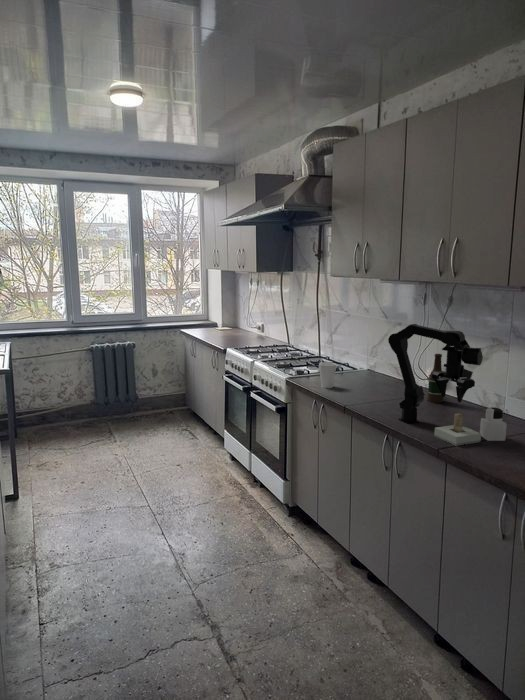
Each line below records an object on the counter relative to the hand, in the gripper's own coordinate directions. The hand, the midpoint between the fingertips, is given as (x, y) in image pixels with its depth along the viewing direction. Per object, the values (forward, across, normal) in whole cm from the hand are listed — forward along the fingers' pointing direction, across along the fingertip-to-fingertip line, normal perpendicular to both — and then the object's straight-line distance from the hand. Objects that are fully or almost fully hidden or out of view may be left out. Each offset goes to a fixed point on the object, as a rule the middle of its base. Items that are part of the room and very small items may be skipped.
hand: (451, 399), depth 209 cm
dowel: (+12, -10, +5) cm, 16 cm away
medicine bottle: (+13, -14, -9) cm, 21 cm away
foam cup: (+13, +84, +11) cm, 86 cm away
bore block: (+13, -10, +5) cm, 17 cm away
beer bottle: (+13, +38, -25) cm, 47 cm away
